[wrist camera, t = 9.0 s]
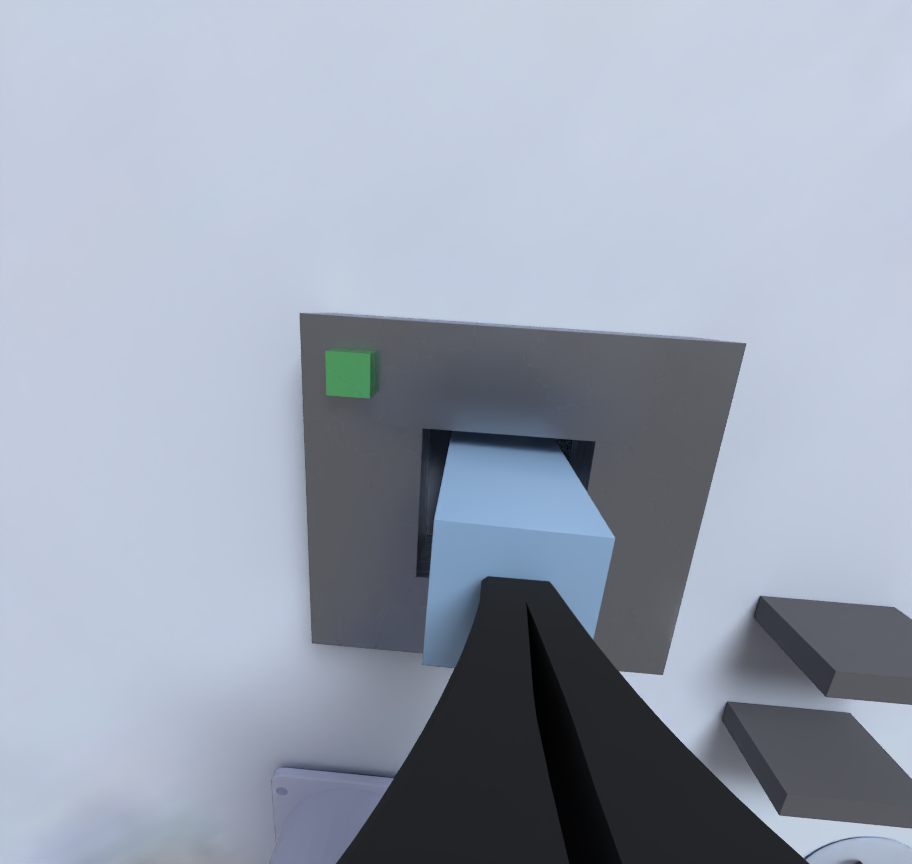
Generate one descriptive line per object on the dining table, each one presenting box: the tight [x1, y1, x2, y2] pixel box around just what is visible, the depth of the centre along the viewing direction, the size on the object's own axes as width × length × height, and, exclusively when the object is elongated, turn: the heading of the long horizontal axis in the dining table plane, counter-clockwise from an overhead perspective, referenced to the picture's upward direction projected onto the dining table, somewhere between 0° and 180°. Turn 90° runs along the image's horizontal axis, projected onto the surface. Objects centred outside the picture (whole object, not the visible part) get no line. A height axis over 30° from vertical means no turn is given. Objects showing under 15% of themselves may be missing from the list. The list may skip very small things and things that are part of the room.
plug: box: [422, 431, 615, 668], centre depth 12 cm, size 4×4×7 cm
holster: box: [722, 596, 912, 828], centre depth 15 cm, size 6×5×4 cm
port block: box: [300, 313, 746, 675], centre depth 14 cm, size 11×12×3 cm
